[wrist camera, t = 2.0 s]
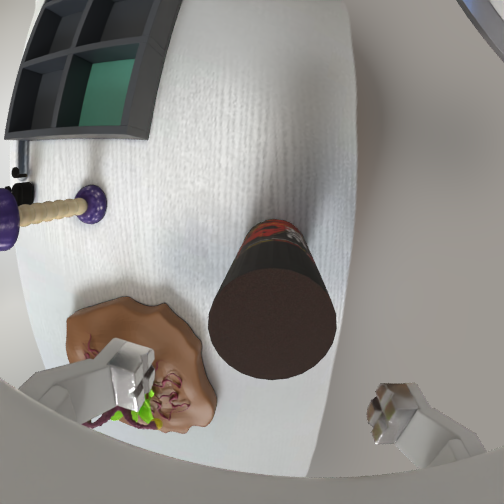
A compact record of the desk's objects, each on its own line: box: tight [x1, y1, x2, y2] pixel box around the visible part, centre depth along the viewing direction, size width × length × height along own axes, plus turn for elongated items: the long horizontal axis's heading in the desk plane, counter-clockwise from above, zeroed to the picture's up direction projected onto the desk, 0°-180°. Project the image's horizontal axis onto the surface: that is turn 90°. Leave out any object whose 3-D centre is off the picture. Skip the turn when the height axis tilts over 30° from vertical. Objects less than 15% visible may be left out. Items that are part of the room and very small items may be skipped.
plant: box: [66, 297, 217, 434], centre depth 27 cm, size 20×20×11 cm
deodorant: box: [208, 219, 337, 380], centre depth 20 cm, size 6×6×15 cm
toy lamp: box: [0, 185, 107, 251], centre depth 20 cm, size 5×5×17 cm
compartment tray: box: [4, 0, 182, 141], centre depth 22 cm, size 18×18×5 cm
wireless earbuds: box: [5, 167, 33, 207], centre depth 26 cm, size 7×2×5 cm, turn 174°
